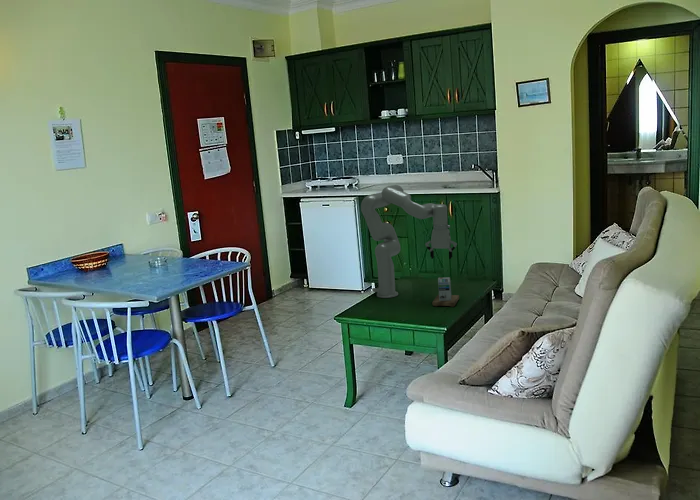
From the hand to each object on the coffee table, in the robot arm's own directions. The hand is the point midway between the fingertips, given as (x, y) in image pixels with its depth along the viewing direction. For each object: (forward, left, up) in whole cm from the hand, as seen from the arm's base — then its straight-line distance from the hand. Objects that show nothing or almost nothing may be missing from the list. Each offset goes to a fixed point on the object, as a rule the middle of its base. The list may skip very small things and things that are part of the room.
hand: (441, 258), depth 331 cm
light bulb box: (+1, -2, -22) cm, 22 cm away
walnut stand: (+2, -2, -25) cm, 25 cm away
